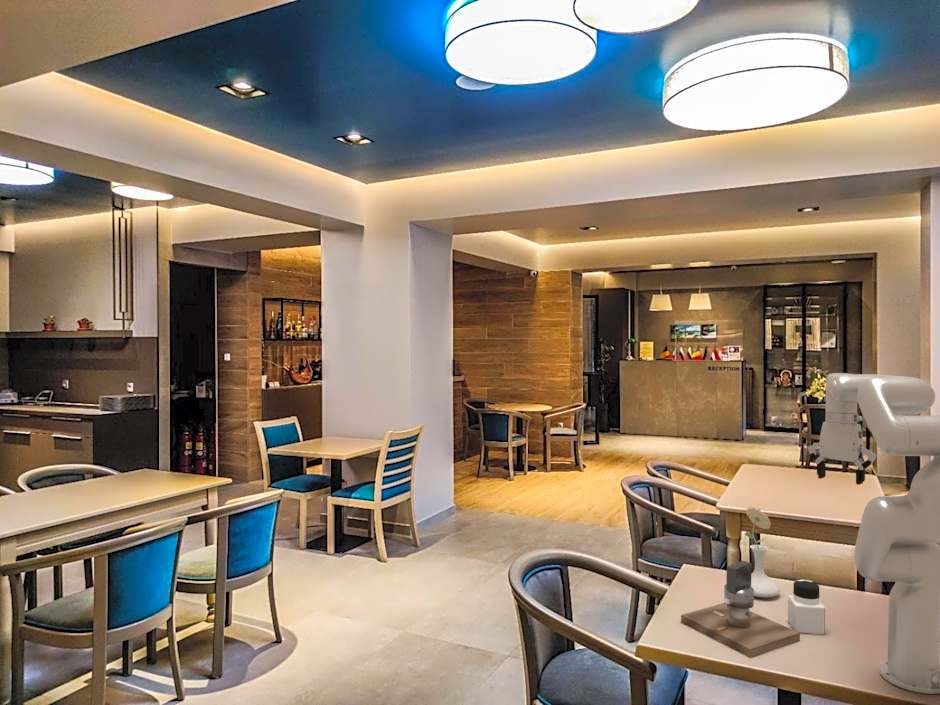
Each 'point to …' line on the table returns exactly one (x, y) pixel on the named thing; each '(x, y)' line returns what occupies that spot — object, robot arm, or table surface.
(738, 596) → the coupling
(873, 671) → the table surface
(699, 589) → the table surface
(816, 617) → the medicine bottle
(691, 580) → the table surface
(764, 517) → the flower in vase
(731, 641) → the brown wooden board
